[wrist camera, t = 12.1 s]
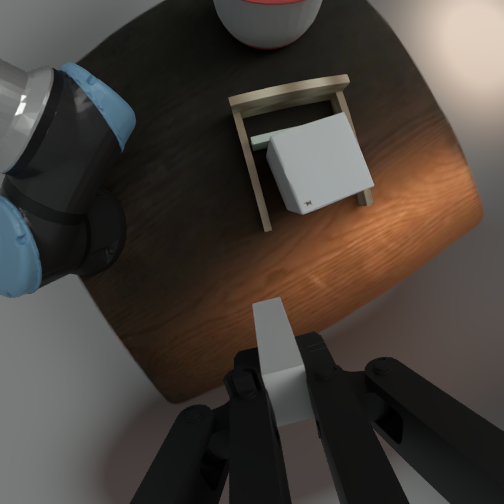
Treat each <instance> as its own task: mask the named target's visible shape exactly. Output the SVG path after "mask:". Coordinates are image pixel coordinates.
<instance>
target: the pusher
mask: <svg viewBox="0 0 504 504" xmlns="http://www.w3.org/2000/svg"><path fill="white" fill-rule="evenodd" d="M297 127H298V126H297ZM292 128H295V127H292ZM292 128H288V129H283V130H279V131H275V132H271V133H266V134H262V135H258V136H254V137H251V145H252V149H253V151H256V150H260V149H264V148H268V144H269V139H270V136H272V135H274V134H277V133H280V132H283V131H286V130H289V129H292Z"/></svg>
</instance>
